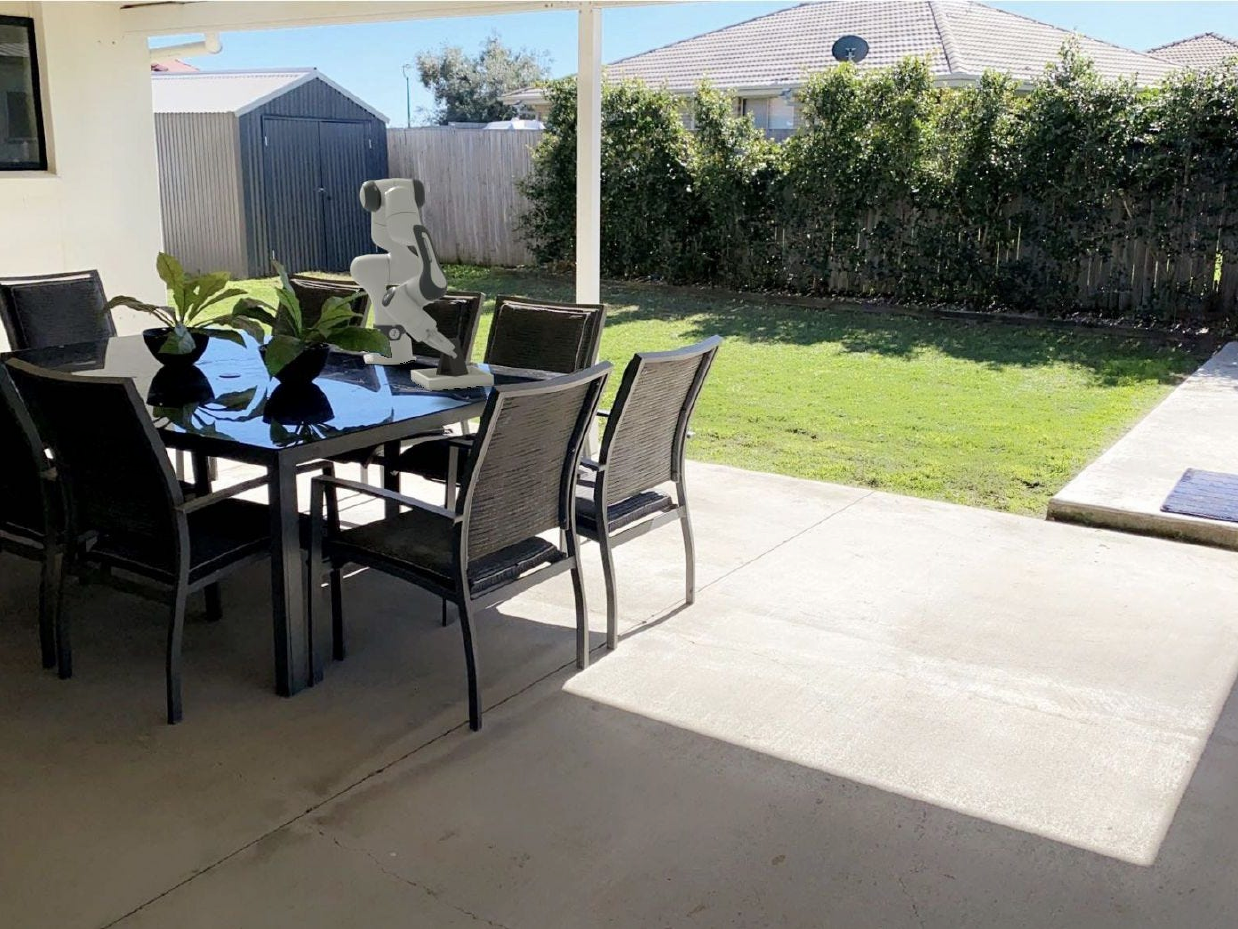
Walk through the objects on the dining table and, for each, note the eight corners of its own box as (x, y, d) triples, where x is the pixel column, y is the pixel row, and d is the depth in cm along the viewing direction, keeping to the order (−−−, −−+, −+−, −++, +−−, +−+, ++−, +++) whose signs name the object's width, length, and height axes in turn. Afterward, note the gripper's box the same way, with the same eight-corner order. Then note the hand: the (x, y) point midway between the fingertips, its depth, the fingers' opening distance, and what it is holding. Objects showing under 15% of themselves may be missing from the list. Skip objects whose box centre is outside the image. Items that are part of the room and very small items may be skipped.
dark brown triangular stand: (468, 374, 384) (467, 338, 382) (456, 376, 379) (455, 340, 377) (448, 372, 389) (446, 336, 386) (435, 374, 384) (434, 338, 382)
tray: (411, 380, 389) (410, 370, 388) (473, 375, 398) (473, 365, 397) (429, 391, 372) (428, 380, 371) (493, 385, 381) (493, 375, 380)
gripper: (439, 325, 368) (469, 353, 374) (420, 317, 385) (449, 344, 392) (426, 340, 367) (456, 368, 374) (407, 331, 385) (437, 358, 391)
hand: (452, 356), depth 383 cm, fingers closed on dark brown triangular stand, 3 cm apart
